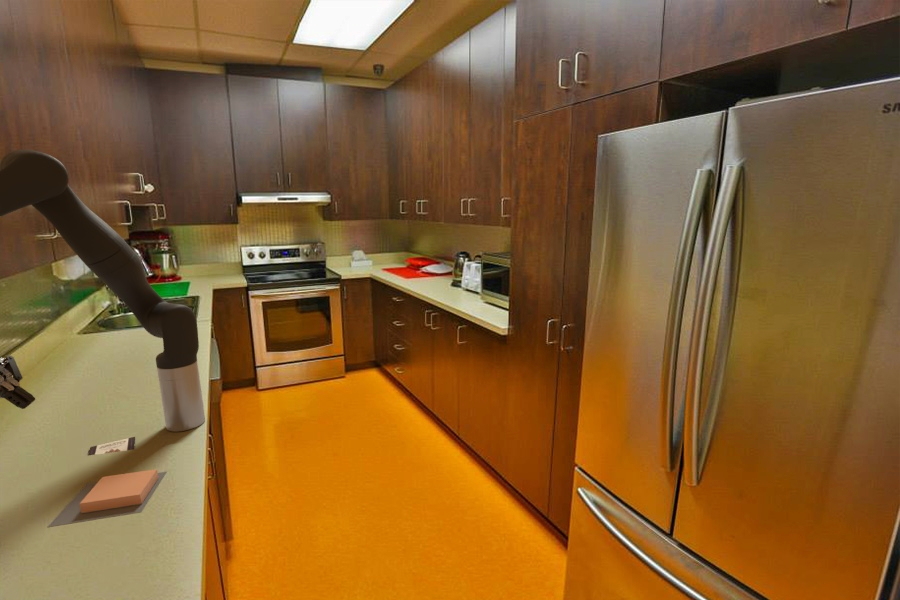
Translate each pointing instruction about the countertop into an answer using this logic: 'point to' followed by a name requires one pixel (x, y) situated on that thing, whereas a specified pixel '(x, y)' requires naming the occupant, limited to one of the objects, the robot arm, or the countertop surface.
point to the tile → (119, 491)
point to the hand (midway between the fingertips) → (29, 404)
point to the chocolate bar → (113, 446)
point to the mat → (74, 511)
